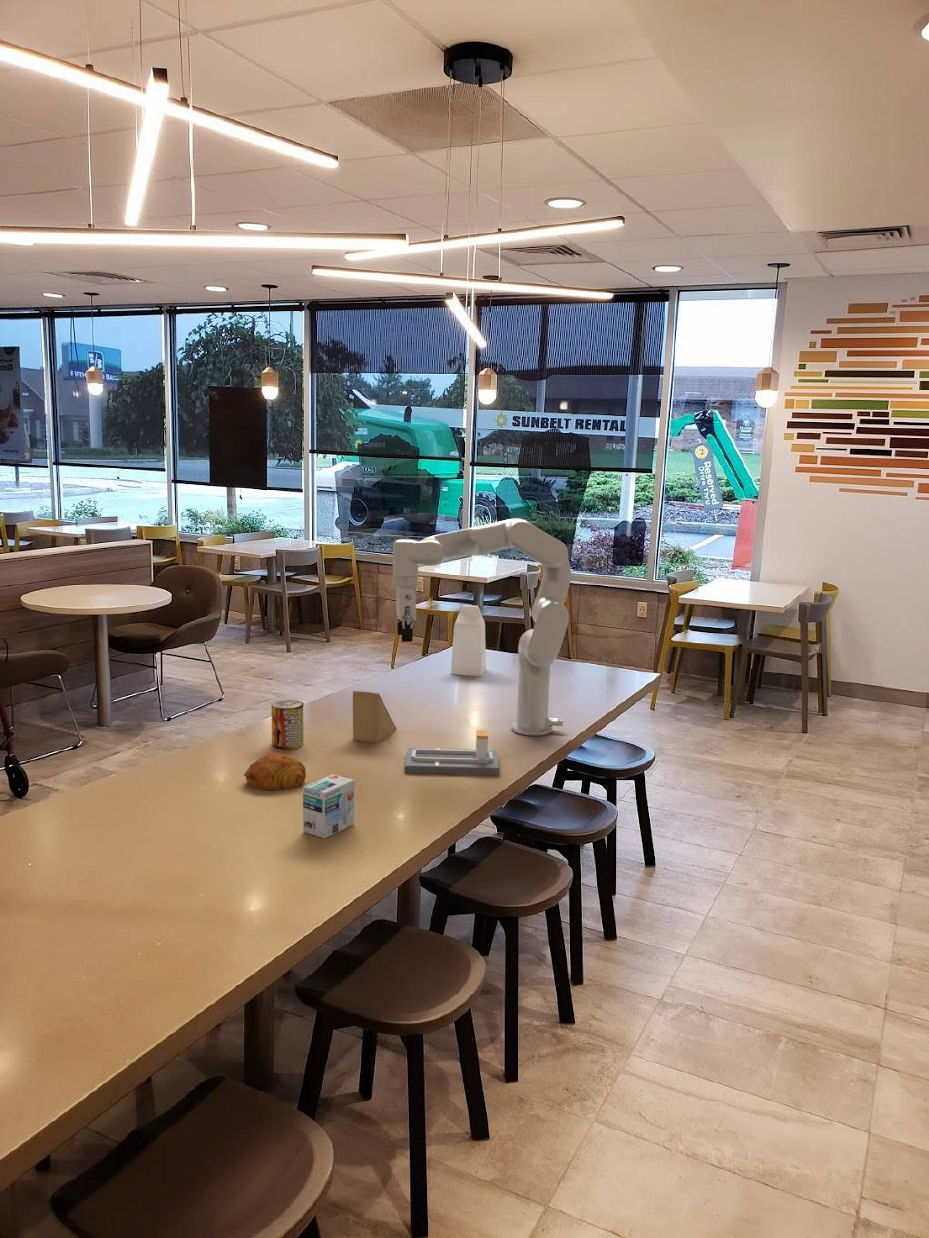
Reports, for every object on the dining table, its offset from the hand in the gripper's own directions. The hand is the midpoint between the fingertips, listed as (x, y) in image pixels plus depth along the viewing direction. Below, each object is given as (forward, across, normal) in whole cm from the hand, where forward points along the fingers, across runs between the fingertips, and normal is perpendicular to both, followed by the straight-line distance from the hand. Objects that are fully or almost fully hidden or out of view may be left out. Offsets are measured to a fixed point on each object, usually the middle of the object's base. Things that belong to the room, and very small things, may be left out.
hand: (404, 638), depth 278 cm
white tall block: (+30, +75, -35) cm, 88 cm away
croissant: (+29, -38, +38) cm, 62 cm away
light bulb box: (+29, -70, +26) cm, 80 cm away
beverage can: (+29, -8, +35) cm, 46 cm away
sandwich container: (+30, -1, +9) cm, 31 cm away
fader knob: (+27, -33, -17) cm, 46 cm away
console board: (+29, -31, -9) cm, 44 cm away
